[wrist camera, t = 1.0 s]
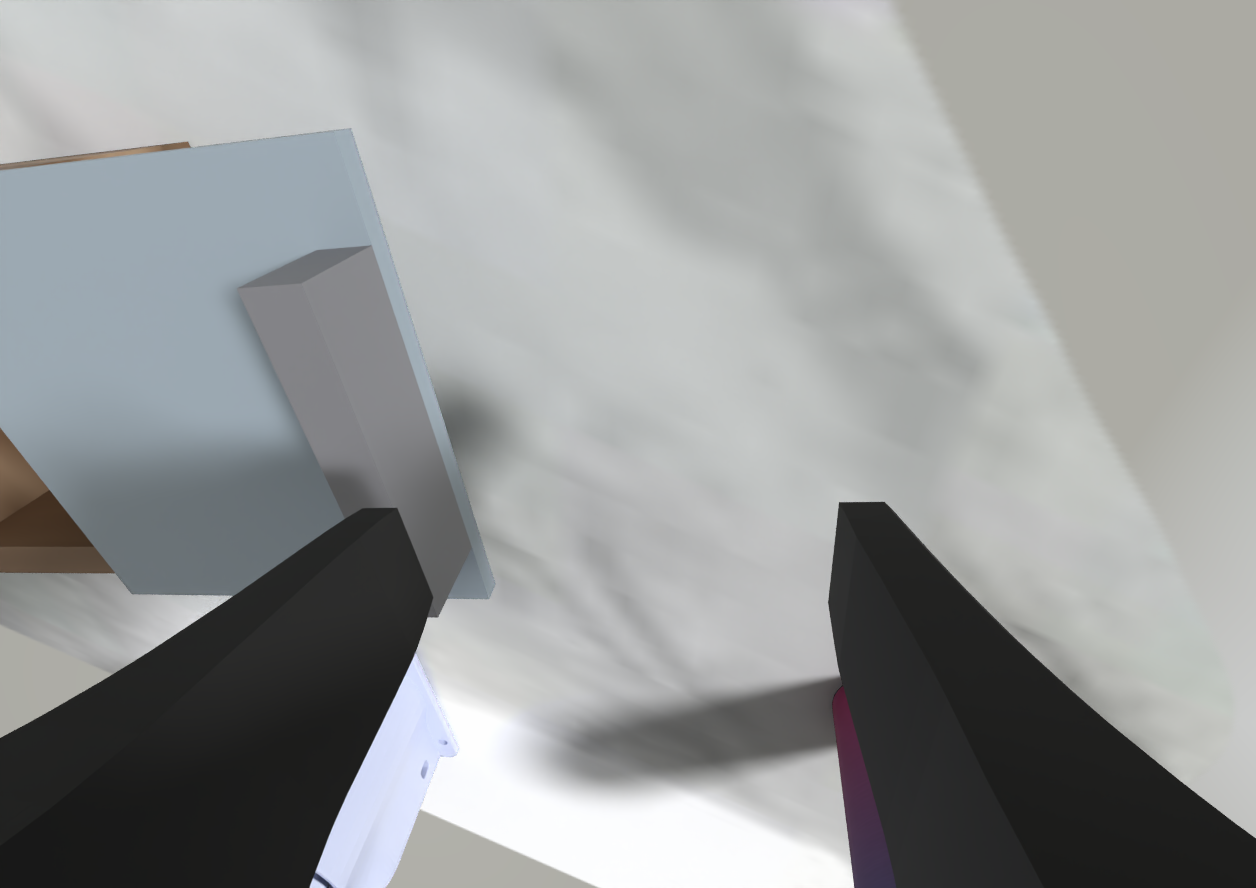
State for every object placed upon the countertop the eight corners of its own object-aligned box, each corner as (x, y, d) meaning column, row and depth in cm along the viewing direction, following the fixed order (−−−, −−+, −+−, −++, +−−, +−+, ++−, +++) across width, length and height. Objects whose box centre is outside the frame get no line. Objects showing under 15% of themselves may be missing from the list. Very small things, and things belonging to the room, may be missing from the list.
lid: (495, 583, 17) (459, 671, 15) (146, 580, 19) (63, 657, 17) (350, 128, 11) (246, 147, 9) (-151, 188, 13) (-358, 218, 10)
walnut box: (342, 481, 23) (261, 574, 19) (84, 486, 25) (-42, 572, 21) (187, 141, 17) (14, 168, 12) (-145, 182, 18) (-392, 216, 14)
